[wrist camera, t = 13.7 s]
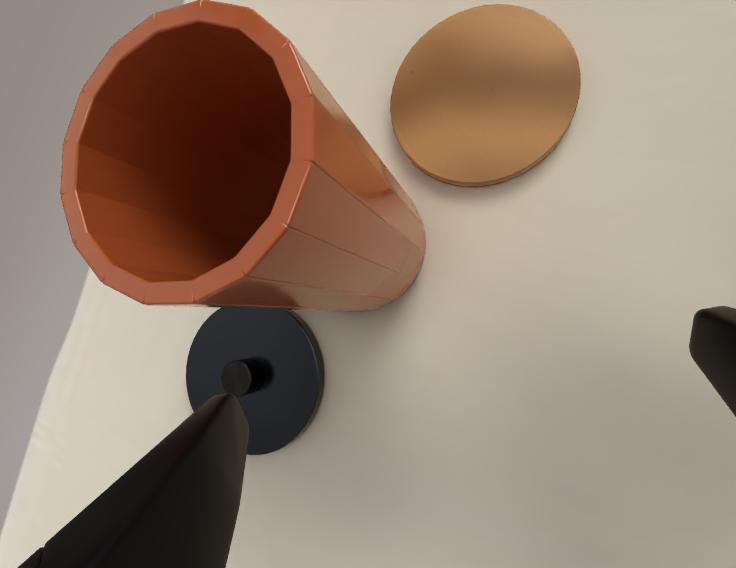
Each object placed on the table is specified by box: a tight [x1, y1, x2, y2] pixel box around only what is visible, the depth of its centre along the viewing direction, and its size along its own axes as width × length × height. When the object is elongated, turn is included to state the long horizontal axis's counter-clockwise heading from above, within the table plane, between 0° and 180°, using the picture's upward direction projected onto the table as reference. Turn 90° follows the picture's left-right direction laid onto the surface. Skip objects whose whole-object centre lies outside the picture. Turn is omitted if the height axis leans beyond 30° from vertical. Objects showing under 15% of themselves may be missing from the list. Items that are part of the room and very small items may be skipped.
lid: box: [186, 307, 324, 455], centre depth 21 cm, size 8×8×2 cm
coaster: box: [391, 4, 580, 186], centre depth 19 cm, size 8×8×1 cm
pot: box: [61, 0, 425, 311], centre depth 15 cm, size 7×7×12 cm
